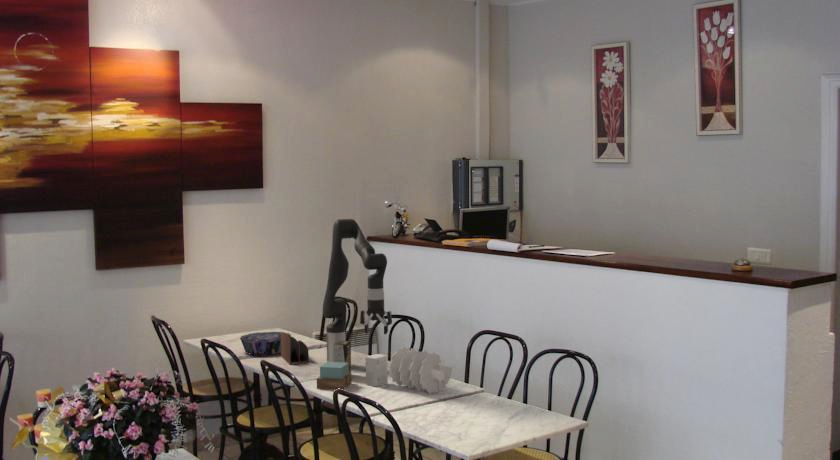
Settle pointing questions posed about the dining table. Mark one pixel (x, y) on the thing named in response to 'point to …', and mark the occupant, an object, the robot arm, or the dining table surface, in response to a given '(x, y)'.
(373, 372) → the small box
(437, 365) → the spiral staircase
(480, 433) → the dining table surface
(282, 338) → the letter holder
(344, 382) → the tower bottom block
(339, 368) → the tower top block
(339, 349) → the coffee box
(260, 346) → the decorative bowl
